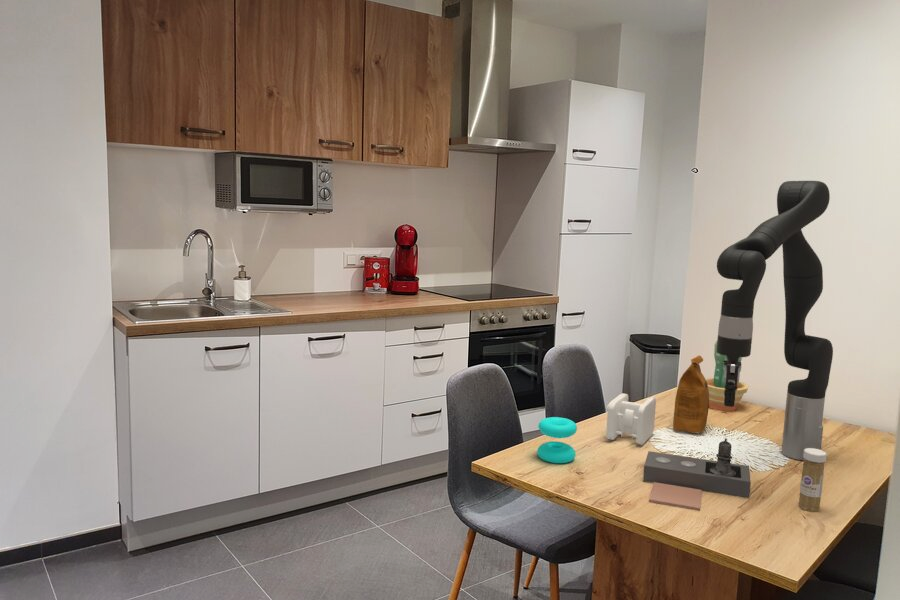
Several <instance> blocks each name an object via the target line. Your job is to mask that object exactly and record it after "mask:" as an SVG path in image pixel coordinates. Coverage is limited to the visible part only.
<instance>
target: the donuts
mask: <svg viewBox="0 0 900 600" xmlns="http://www.w3.org/2000/svg"><path fill="white" fill-rule="evenodd" d="M538 430H539V431H540V432H541V434H543V435H544V436H546V437H549V438H554V439H565V438H567V439H568V438H571V437H572V436H574V435H575V434H576V432H577V431H578V425H577V424H576V422H574V421H573V420H571V419H569V418H565V417H561V416H560V417H559V416H551V417H545V418H543V419H541V420H540V421H539V422H538ZM536 453H537V455H538V457H539V459H541V460H542V461H545V462H547V463H551V464H566V463H570V462H572V461H573V460H575V457H576V451H575V449H574V447H572V445H570V444H568V443H566V442H562V441H557V440H556V441H546V442H543V443H542V444H540V445H539V446H538V447H537V451H536Z"/></svg>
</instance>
